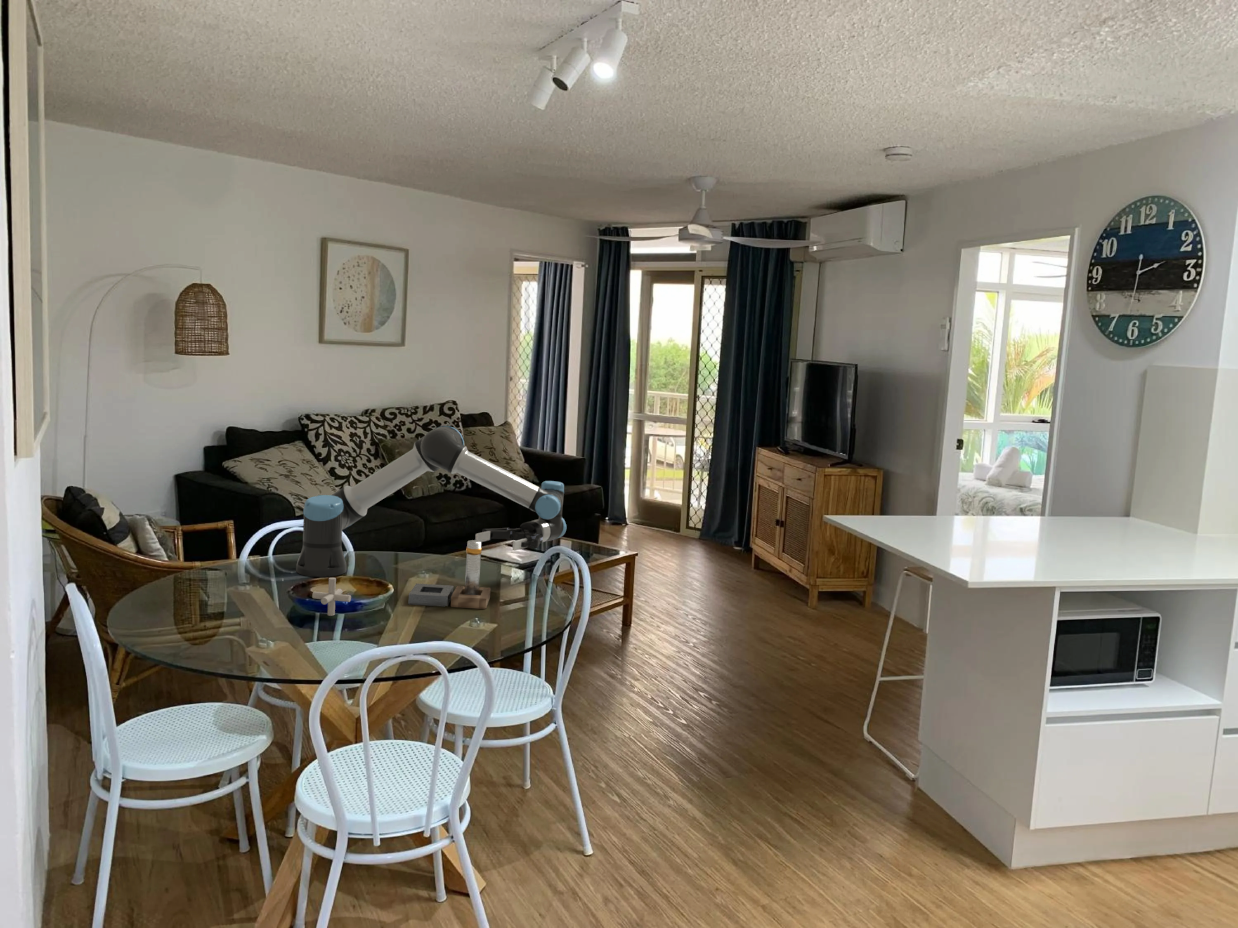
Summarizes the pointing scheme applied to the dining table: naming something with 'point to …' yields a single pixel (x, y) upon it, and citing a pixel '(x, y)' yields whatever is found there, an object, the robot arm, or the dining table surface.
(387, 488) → the robot arm
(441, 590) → the socket block
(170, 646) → the dining table surface
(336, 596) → the pipe connector
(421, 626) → the dining table surface
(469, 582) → the silver banded cylinder
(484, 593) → the block
